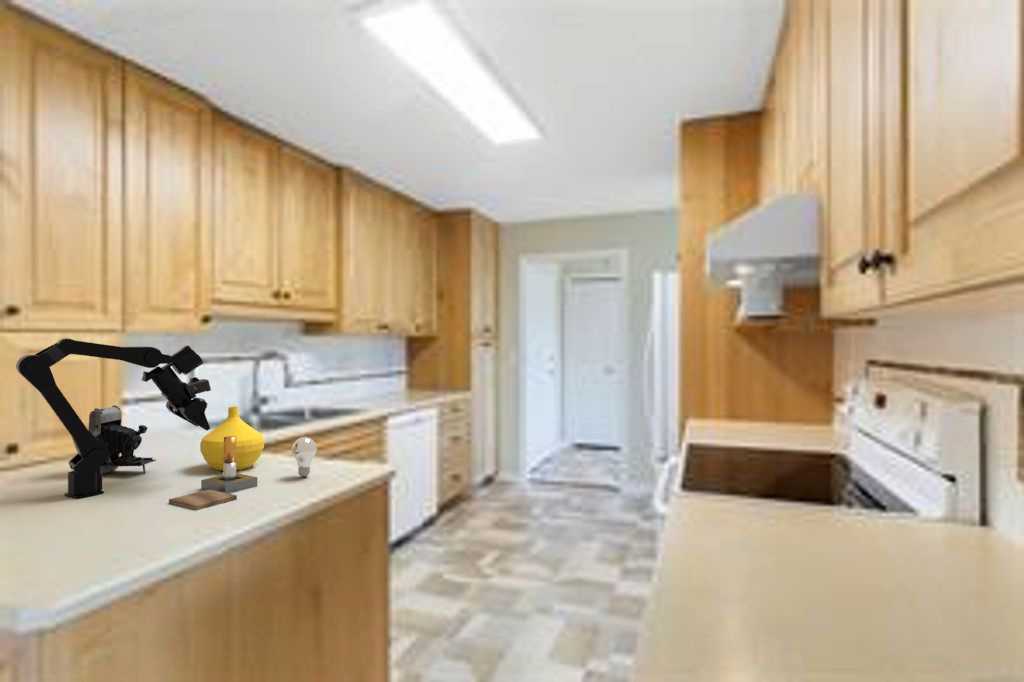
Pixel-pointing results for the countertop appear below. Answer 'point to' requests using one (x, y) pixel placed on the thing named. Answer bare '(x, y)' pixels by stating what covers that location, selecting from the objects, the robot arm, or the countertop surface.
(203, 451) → the vase
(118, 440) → the vintage camera
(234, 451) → the orange and silver cylinder
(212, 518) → the countertop surface
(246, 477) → the chuck block
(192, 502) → the walnut pad
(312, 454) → the light bulb
